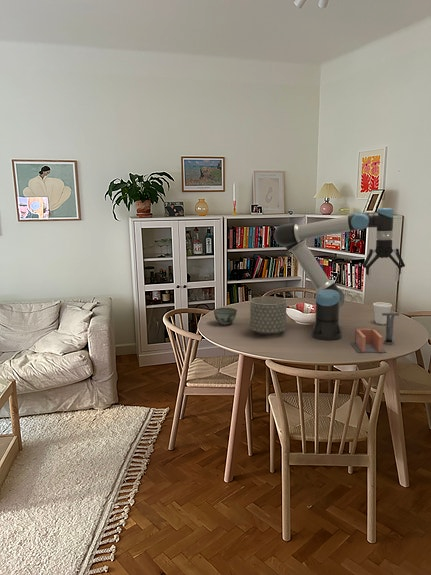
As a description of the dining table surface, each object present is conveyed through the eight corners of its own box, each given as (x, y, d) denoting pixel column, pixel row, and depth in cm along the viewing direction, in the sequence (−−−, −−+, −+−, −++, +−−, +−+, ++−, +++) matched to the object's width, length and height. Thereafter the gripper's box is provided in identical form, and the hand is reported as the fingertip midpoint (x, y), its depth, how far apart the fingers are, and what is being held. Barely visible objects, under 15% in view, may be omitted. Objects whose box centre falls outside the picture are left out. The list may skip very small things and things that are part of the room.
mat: (357, 352, 193) (357, 351, 193) (350, 343, 206) (350, 342, 206) (386, 352, 192) (386, 351, 192) (377, 343, 205) (377, 342, 205)
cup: (392, 325, 233) (393, 306, 231) (373, 325, 235) (374, 306, 233) (388, 321, 243) (390, 302, 241) (370, 320, 245) (371, 302, 243)
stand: (382, 344, 204) (383, 314, 201) (379, 341, 208) (381, 312, 205) (398, 344, 203) (400, 314, 200) (395, 341, 207) (397, 312, 204)
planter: (287, 329, 231) (288, 297, 228) (283, 339, 213) (284, 305, 210) (253, 327, 236) (253, 295, 233) (247, 337, 218) (247, 303, 215)
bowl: (211, 326, 240) (210, 312, 238) (216, 320, 252) (216, 307, 251) (234, 327, 236) (234, 313, 235) (238, 321, 249) (238, 308, 248)
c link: (361, 351, 193) (362, 337, 192) (354, 342, 206) (355, 328, 204) (381, 351, 192) (382, 337, 191) (373, 342, 205) (374, 328, 204)
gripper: (359, 240, 208) (358, 282, 212) (412, 239, 205) (410, 281, 209) (357, 239, 216) (356, 280, 220) (408, 237, 212) (406, 279, 216)
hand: (382, 281), depth 214 cm, fingers open, 13 cm apart
